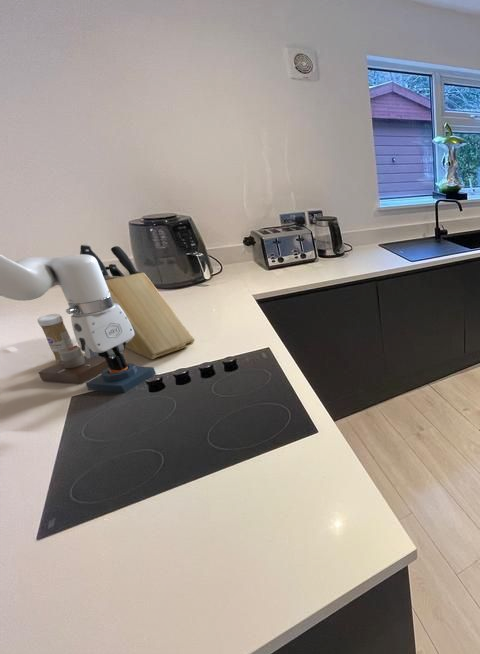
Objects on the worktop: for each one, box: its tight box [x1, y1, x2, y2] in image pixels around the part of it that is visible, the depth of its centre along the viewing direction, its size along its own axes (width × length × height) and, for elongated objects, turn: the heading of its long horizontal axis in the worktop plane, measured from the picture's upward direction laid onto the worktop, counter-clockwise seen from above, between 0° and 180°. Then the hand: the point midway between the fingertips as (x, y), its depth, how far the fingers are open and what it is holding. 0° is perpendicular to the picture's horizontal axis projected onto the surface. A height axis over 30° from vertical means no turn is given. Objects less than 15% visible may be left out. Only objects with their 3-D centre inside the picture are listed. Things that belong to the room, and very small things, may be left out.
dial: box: [58, 345, 86, 368], centre depth 108 cm, size 4×4×5 cm
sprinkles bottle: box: [36, 313, 75, 362], centre depth 114 cm, size 5×5×13 cm
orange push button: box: [109, 367, 128, 374], centre depth 106 cm, size 4×4×2 cm
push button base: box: [85, 362, 157, 394], centre depth 106 cm, size 10×9×4 cm
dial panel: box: [37, 355, 109, 385], centre depth 109 cm, size 11×9×3 cm
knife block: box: [79, 244, 195, 360], centre depth 121 cm, size 11×35×31 cm, turn 64°
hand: (119, 368), depth 105 cm, fingers closed
